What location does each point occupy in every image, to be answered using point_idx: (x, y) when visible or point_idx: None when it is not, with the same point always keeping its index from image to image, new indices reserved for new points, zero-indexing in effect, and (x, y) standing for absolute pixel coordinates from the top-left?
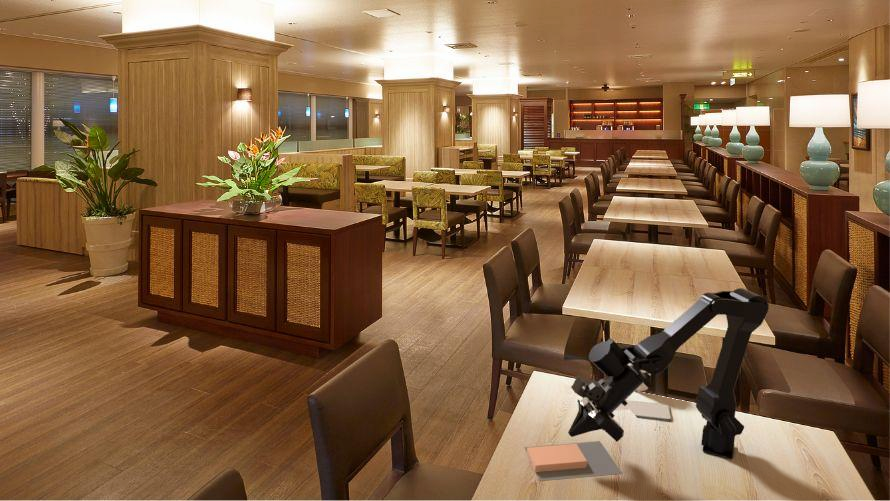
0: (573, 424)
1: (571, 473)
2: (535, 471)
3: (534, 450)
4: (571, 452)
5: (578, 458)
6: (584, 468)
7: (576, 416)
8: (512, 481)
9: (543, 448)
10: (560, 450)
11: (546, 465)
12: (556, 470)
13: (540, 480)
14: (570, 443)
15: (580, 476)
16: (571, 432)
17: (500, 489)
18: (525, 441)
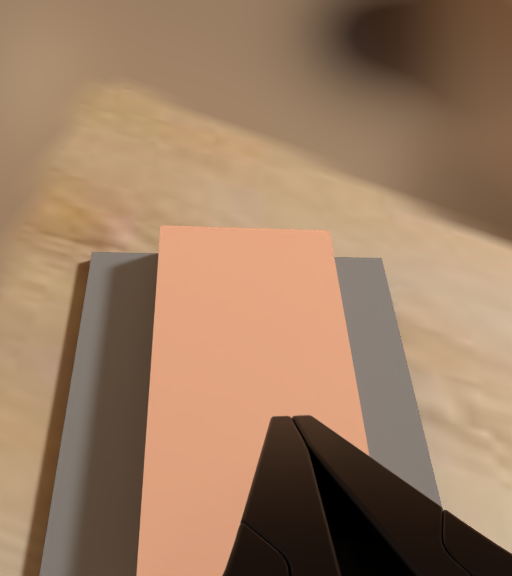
0: (352, 469)
1: (109, 443)
2: None
3: (303, 258)
4: None
5: (184, 522)
6: None
7: (489, 547)
8: (137, 165)
9: (321, 309)
10: (296, 408)
11: (157, 284)
12: None
13: (93, 256)
14: None
15: (60, 497)
16: (266, 433)
17: (98, 120)
18: (446, 286)
